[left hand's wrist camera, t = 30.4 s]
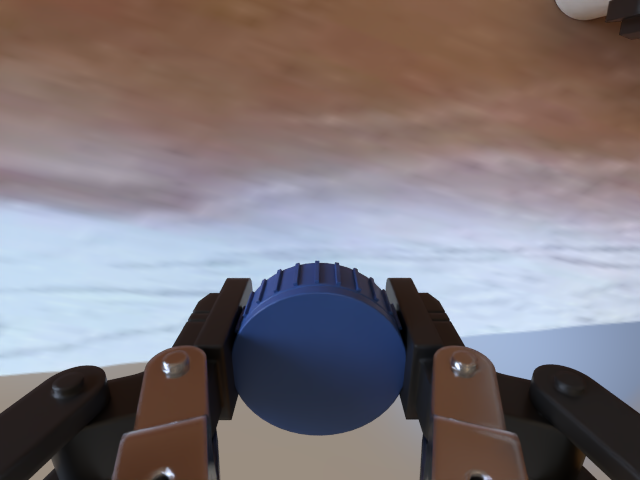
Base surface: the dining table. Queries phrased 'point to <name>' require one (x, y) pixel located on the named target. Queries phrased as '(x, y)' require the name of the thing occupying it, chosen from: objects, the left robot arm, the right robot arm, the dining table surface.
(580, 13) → the white tube
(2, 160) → the dining table surface
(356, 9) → the dining table surface
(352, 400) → the lid
